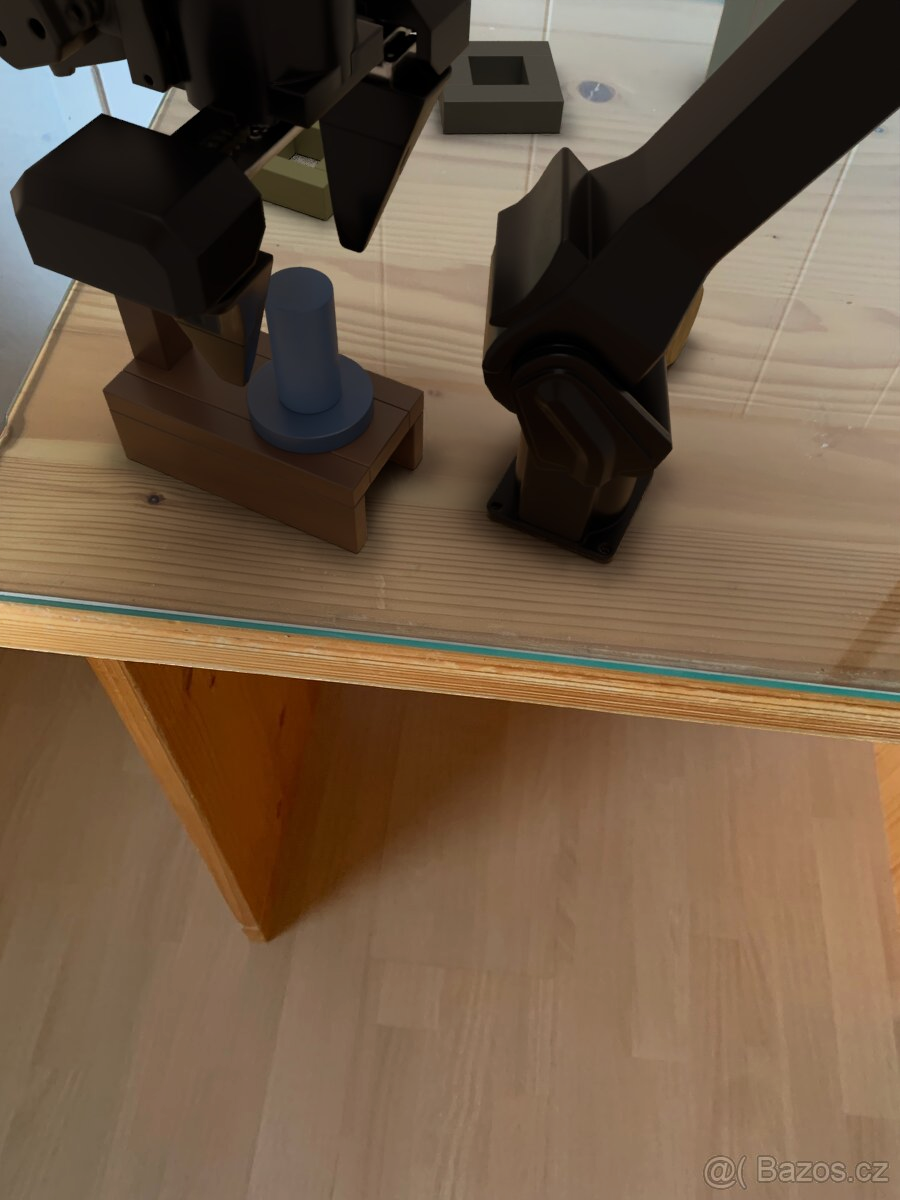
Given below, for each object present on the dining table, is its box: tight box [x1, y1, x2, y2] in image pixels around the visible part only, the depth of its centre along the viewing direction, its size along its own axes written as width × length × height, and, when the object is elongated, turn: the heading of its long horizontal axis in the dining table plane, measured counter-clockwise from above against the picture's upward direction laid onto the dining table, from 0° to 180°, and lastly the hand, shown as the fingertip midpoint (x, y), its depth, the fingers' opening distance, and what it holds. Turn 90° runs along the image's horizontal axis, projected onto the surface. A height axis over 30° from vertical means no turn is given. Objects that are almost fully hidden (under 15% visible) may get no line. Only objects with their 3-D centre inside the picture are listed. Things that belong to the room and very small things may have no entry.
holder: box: [438, 40, 565, 134], centre depth 65 cm, size 8×8×2 cm
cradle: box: [250, 121, 333, 221], centre depth 59 cm, size 7×7×2 cm
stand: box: [102, 294, 425, 554], centre depth 42 cm, size 7×13×12 cm, turn 64°
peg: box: [246, 266, 374, 454], centre depth 41 cm, size 6×6×10 cm
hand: (297, 310), depth 38 cm, fingers open, 9 cm apart
